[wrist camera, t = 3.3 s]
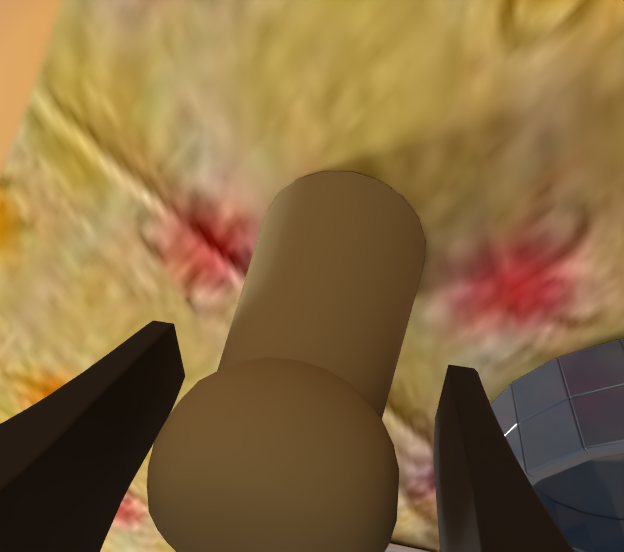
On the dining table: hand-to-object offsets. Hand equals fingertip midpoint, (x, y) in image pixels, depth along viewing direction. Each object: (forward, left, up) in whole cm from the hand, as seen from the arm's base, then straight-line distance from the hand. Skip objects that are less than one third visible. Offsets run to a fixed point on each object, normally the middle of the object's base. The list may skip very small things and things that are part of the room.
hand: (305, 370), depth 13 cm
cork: (0, 0, -6) cm, 6 cm away
